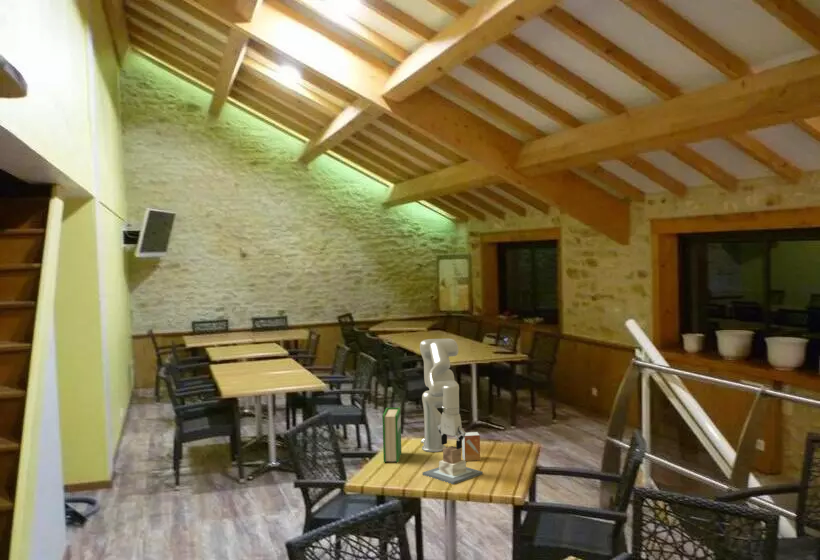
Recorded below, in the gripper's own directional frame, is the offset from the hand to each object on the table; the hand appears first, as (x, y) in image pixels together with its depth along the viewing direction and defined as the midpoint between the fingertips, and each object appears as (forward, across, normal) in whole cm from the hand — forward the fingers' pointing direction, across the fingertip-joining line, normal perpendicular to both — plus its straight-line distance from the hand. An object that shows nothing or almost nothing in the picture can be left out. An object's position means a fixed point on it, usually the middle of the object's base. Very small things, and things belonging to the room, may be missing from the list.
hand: (451, 446), depth 329 cm
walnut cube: (+7, +1, 0) cm, 7 cm away
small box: (+14, -9, +23) cm, 29 cm away
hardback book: (+15, -40, -2) cm, 43 cm away
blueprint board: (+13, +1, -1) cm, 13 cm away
